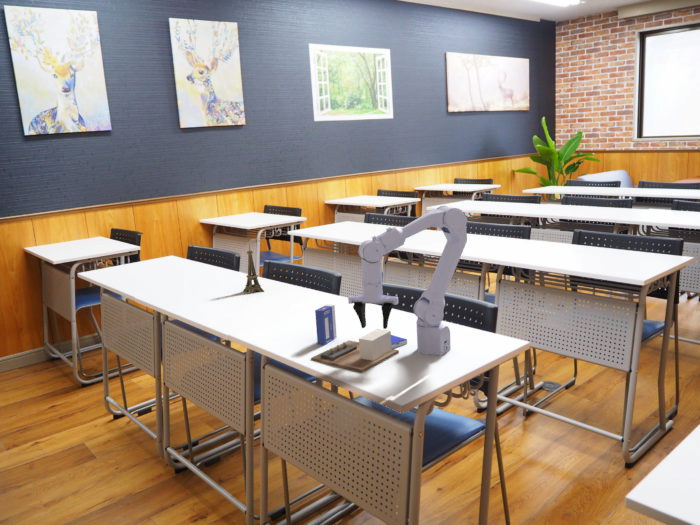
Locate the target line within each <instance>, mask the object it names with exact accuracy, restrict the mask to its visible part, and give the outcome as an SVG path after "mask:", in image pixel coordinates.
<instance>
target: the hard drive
mask: <svg viewBox="0 0 700 525" xmlns="http://www.w3.org/2000/svg"><path fill="white" fill-rule="evenodd" d="M407 344H408V339H407V338H405V337H399V336H396V335H394V334H391V349H395V348H398V347H401V346H404V345H407Z"/></svg>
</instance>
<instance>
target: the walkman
mask: <svg viewBox="0 0 700 525" xmlns="http://www.w3.org/2000/svg"><path fill="white" fill-rule="evenodd" d="M335 308H336V307H335V304H329V303H327V304H325V305H322V306H321V307H319V308H318V309H315V311H314V312H315V326H316V340H317V342H316V343H317V345H320V346H326V345H327V344H329V343H331V342H333V341H334V340H335V339H337V338H338V337H337V325H336V324H337V322H336V311H335V310H336V309H335Z"/></svg>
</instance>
